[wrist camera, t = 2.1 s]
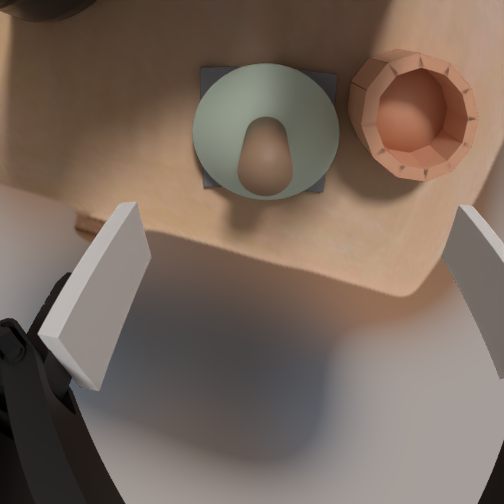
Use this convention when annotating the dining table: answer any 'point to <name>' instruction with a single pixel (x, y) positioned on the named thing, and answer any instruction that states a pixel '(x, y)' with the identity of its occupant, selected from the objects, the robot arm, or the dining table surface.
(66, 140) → the dining table surface
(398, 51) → the bowl
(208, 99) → the lid
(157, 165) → the dining table surface
